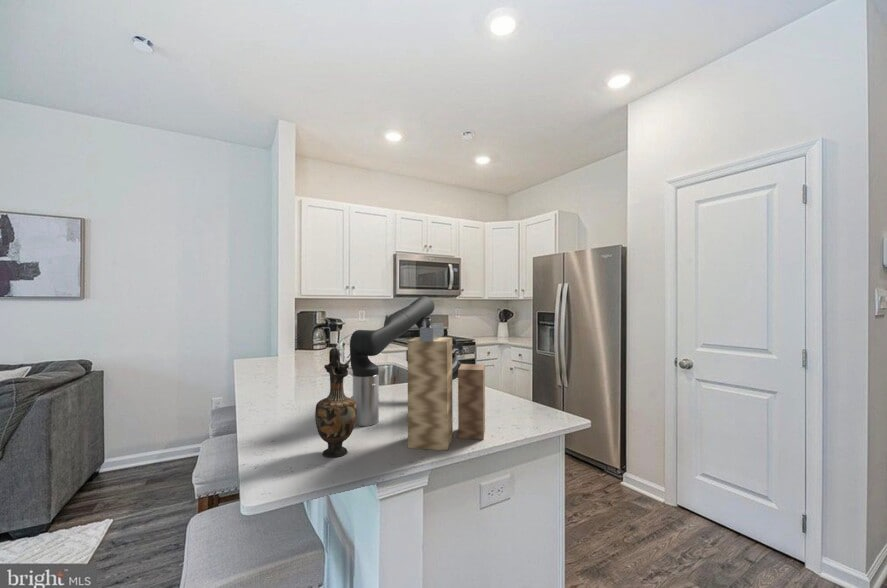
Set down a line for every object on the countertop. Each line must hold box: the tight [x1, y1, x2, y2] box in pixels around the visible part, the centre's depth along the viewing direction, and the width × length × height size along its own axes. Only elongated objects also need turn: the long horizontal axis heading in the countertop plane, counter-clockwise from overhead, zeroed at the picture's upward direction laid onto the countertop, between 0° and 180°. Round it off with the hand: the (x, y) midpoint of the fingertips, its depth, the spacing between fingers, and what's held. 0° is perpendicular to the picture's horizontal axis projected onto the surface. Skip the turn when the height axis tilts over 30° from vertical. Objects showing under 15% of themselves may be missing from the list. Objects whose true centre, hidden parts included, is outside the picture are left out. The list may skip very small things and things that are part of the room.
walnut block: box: [457, 363, 486, 441], centre depth 127 cm, size 8×10×22 cm
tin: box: [419, 318, 445, 342], centre depth 123 cm, size 4×20×6 cm, turn 171°
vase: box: [314, 347, 357, 459], centre depth 112 cm, size 12×12×30 cm
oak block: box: [407, 336, 454, 451], centre depth 120 cm, size 12×11×32 cm
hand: (441, 341), depth 141 cm, fingers open, 8 cm apart
